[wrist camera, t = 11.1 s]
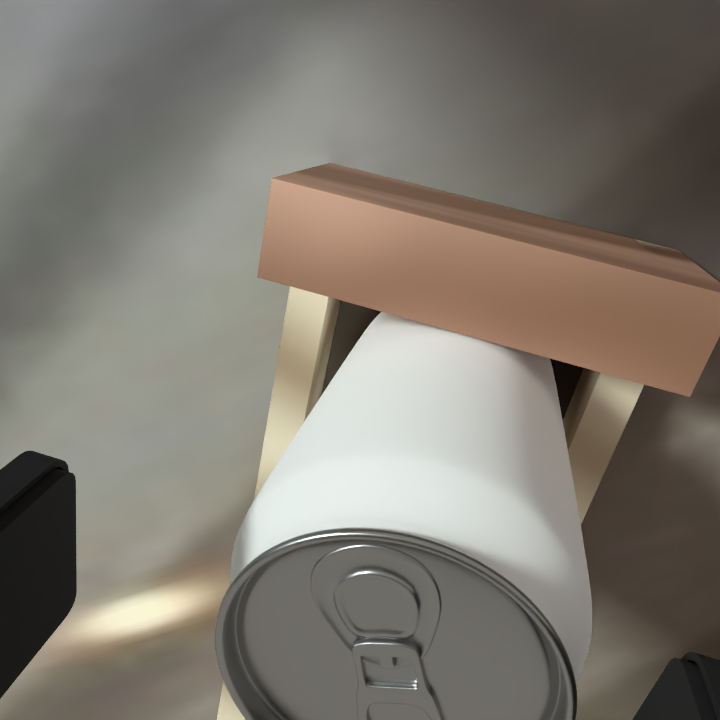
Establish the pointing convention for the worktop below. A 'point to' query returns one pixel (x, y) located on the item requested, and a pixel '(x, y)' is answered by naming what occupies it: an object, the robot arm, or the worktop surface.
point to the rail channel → (480, 300)
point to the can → (414, 545)
